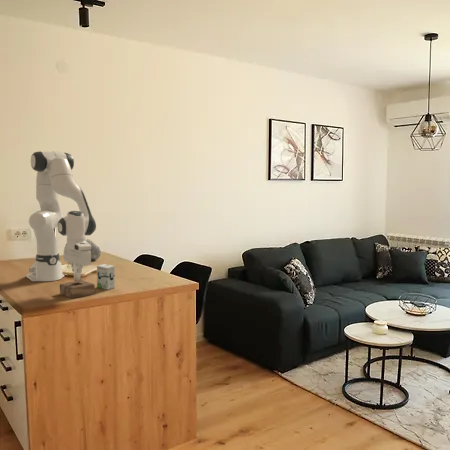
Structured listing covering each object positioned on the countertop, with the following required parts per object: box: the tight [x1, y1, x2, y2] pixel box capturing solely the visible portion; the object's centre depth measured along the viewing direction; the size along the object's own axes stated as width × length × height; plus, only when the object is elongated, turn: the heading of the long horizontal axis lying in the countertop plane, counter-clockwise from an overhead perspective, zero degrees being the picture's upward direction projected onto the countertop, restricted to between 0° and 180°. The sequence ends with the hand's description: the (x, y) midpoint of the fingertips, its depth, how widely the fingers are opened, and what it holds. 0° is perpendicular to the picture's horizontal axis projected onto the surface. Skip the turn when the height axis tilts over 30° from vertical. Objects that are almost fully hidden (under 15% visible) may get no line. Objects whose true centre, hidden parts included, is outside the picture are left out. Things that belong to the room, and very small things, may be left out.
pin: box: [73, 263, 82, 281], centre depth 227 cm, size 3×3×10 cm
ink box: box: [96, 263, 116, 291], centre depth 240 cm, size 9×5×12 cm, turn 56°
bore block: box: [59, 279, 96, 299], centre depth 228 cm, size 12×12×5 cm
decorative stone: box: [86, 238, 102, 261], centre depth 312 cm, size 15×10×15 cm
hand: (77, 272), depth 227 cm, fingers closed on pin, 3 cm apart
